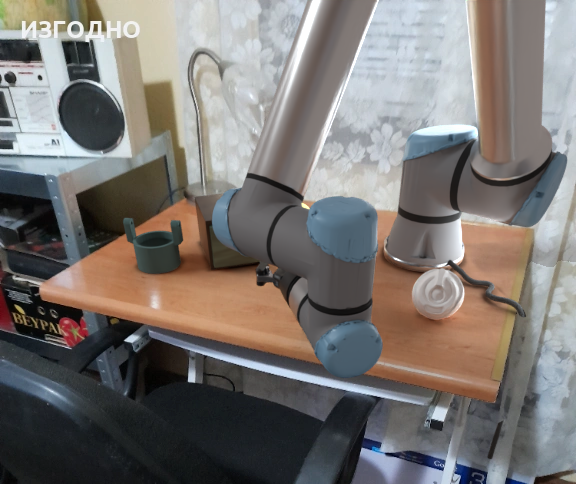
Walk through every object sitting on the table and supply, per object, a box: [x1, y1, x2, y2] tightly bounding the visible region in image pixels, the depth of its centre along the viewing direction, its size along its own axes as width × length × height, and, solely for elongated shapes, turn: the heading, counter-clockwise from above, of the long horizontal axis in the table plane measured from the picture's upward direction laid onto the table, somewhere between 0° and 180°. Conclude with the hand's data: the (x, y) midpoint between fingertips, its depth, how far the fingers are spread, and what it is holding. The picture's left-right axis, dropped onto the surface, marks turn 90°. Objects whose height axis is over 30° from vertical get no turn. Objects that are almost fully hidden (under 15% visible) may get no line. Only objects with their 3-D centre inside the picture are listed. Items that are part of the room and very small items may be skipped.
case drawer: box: [209, 225, 260, 268], centre depth 102 cm, size 14×11×8 cm
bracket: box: [122, 217, 184, 275], centre depth 100 cm, size 9×9×9 cm
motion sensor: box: [411, 268, 465, 321], centre depth 84 cm, size 8×8×8 cm
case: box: [194, 193, 260, 271], centre depth 104 cm, size 14×13×10 cm
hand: (270, 230), depth 90 cm, fingers closed
